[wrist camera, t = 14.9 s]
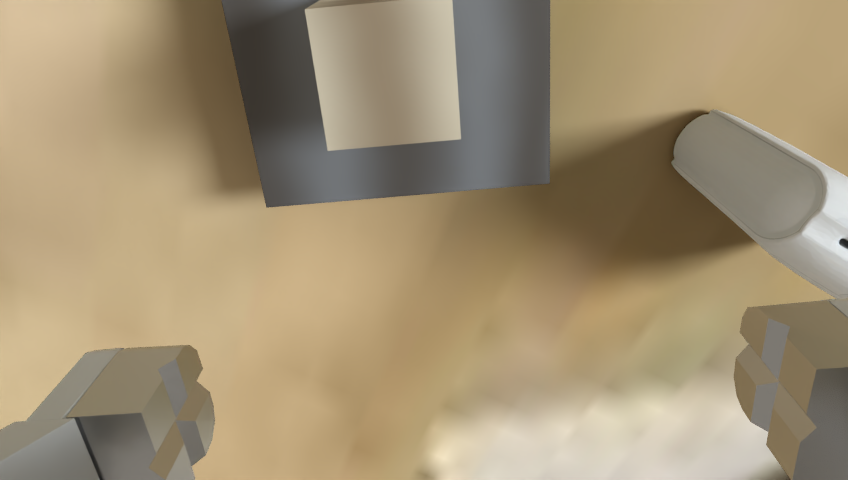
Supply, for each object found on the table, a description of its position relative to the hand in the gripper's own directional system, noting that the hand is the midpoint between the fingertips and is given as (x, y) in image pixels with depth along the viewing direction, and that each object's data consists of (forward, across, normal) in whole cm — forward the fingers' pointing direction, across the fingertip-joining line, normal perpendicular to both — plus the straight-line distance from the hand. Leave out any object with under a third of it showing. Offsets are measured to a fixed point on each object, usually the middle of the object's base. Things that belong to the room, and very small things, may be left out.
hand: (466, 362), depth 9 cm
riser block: (+25, -2, +2) cm, 25 cm away
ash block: (+21, -2, +2) cm, 21 cm away
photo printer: (+25, +17, -7) cm, 31 cm away
